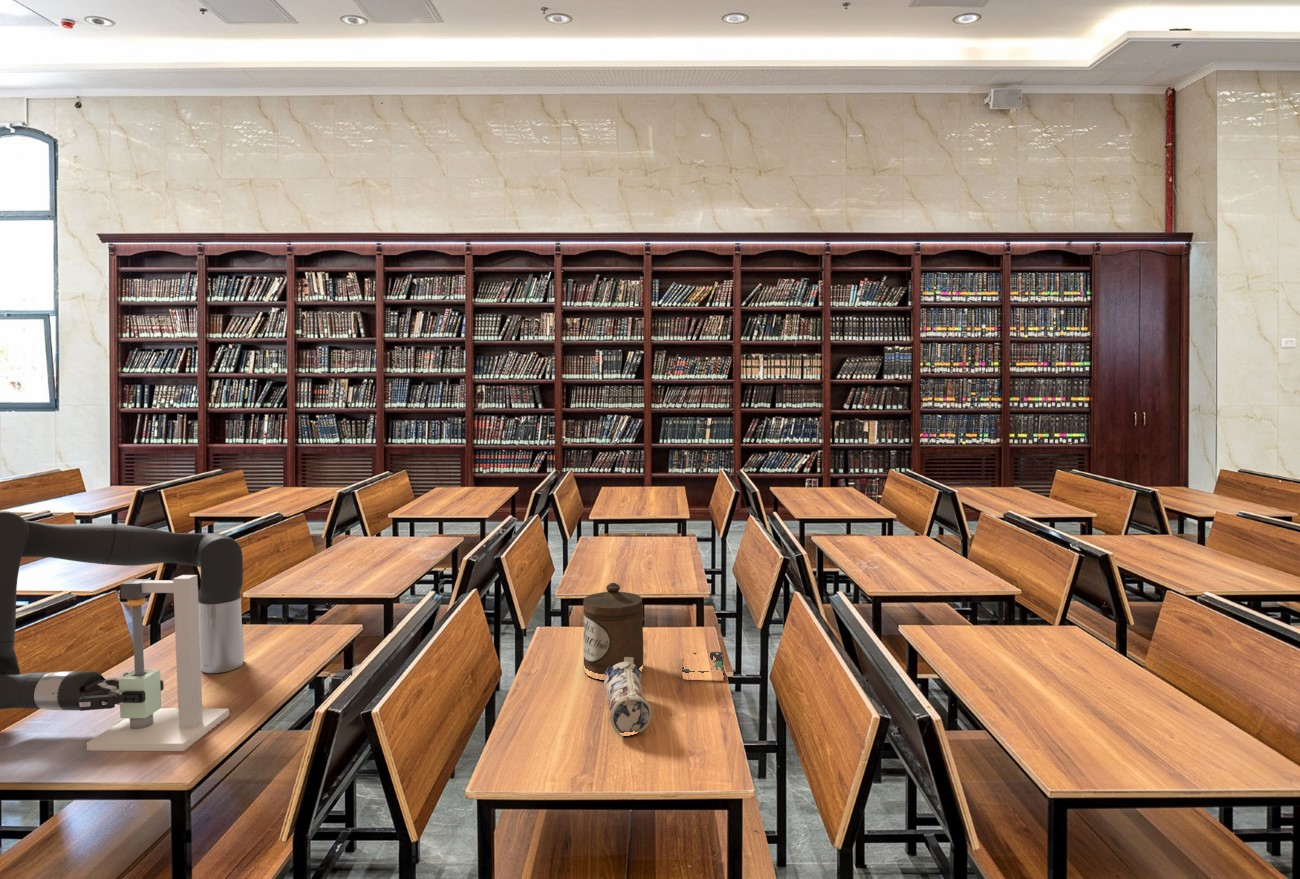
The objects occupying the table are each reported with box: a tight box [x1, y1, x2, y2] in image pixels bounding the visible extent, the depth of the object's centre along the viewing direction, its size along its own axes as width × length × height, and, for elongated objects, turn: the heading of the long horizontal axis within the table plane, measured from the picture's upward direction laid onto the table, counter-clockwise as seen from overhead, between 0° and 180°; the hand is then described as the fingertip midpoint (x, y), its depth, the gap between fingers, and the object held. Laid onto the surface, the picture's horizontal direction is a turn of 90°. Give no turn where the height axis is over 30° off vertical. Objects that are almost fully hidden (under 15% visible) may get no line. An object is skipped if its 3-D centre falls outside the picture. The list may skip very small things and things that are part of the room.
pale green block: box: [118, 669, 163, 719], centre depth 155 cm, size 5×5×8 cm
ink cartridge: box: [330, 669, 352, 691], centre depth 167 cm, size 5×2×8 cm, turn 173°
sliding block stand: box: [86, 574, 230, 752], centre depth 155 cm, size 16×19×32 cm
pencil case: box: [603, 657, 653, 735], centre depth 163 cm, size 22×8×10 cm, turn 7°
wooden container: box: [582, 582, 644, 675], centre depth 190 cm, size 15×15×22 cm
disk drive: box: [681, 651, 725, 676], centre depth 191 cm, size 10×3×15 cm
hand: (153, 691), depth 155 cm, fingers closed on pale green block, 5 cm apart
